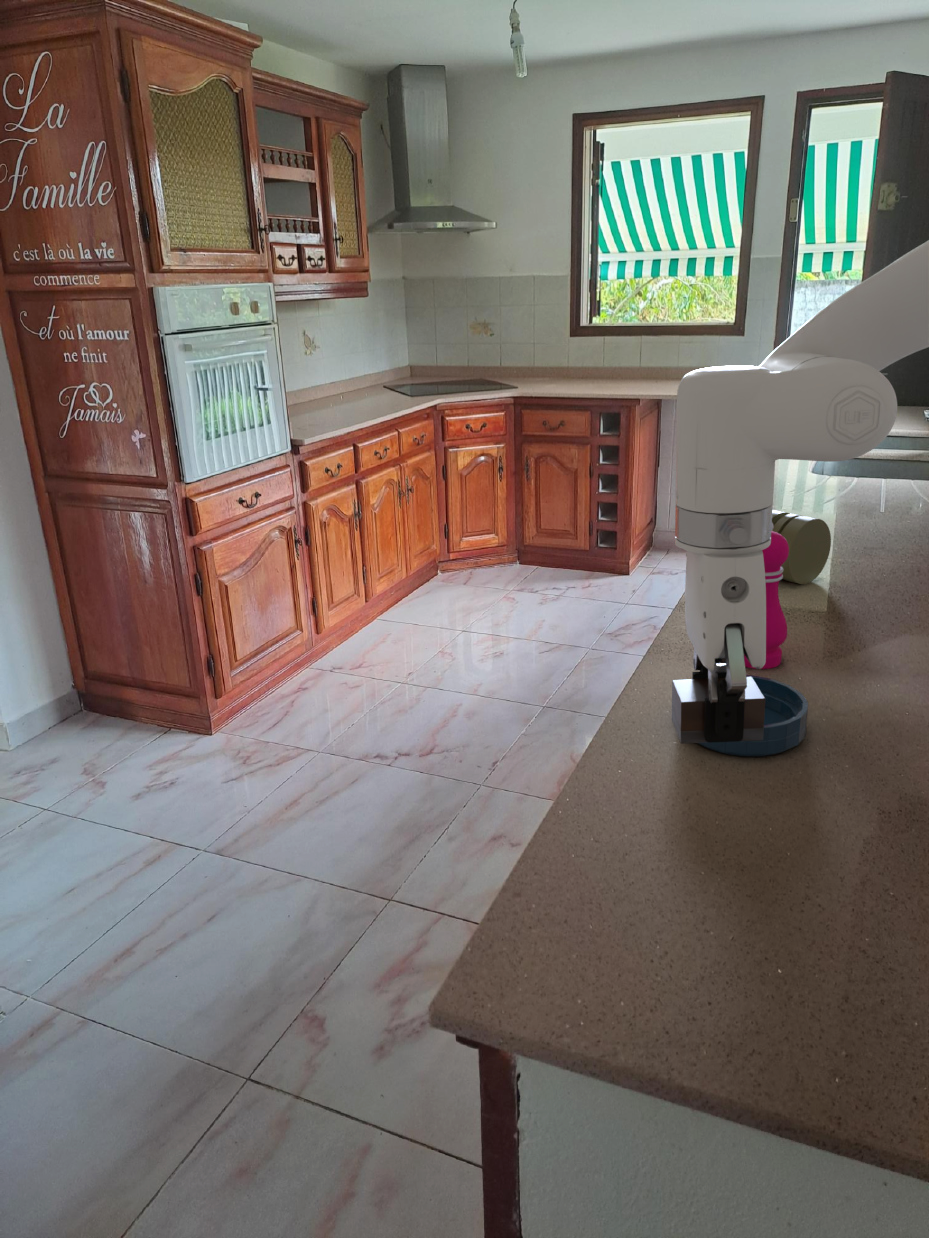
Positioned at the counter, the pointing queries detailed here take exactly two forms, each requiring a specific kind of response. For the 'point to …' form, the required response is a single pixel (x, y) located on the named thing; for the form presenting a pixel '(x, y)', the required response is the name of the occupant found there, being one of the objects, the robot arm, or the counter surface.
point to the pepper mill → (774, 600)
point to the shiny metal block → (692, 703)
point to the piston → (803, 545)
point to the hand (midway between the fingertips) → (716, 723)
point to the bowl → (773, 722)
